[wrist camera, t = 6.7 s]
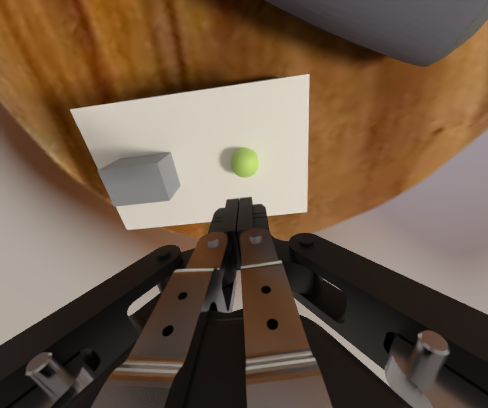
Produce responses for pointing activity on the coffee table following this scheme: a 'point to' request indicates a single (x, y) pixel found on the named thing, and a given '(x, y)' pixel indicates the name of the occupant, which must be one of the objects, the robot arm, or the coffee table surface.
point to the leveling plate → (202, 151)
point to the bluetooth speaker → (394, 24)
